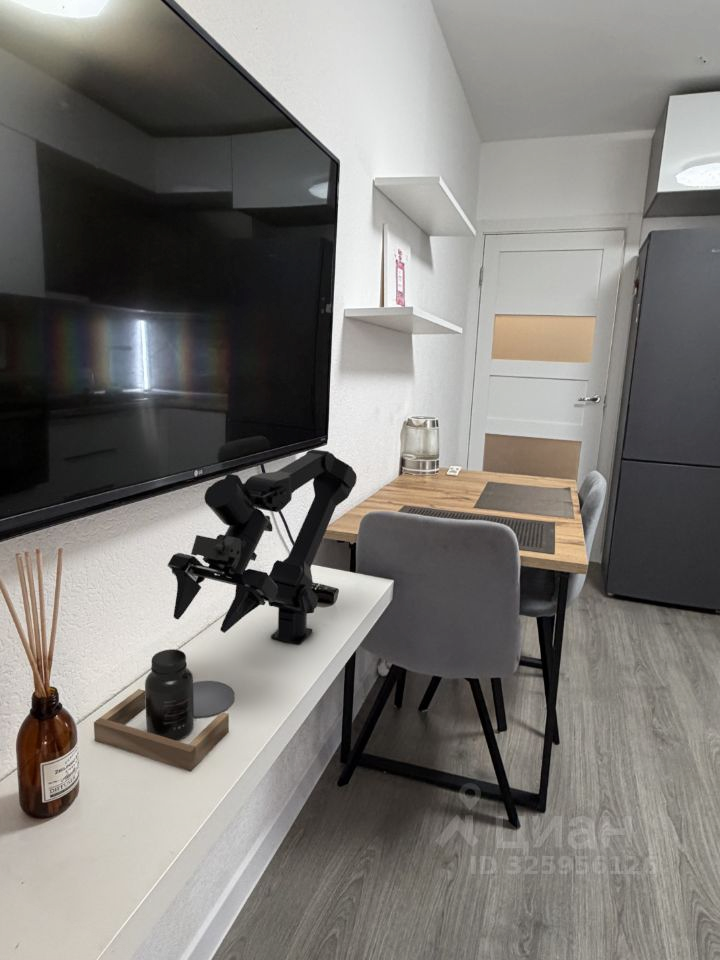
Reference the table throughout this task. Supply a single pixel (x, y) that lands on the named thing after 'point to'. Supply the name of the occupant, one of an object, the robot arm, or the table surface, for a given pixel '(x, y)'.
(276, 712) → the table surface
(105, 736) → the walnut bay
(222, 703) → the coaster
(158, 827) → the table surface
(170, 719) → the supplement bottle
